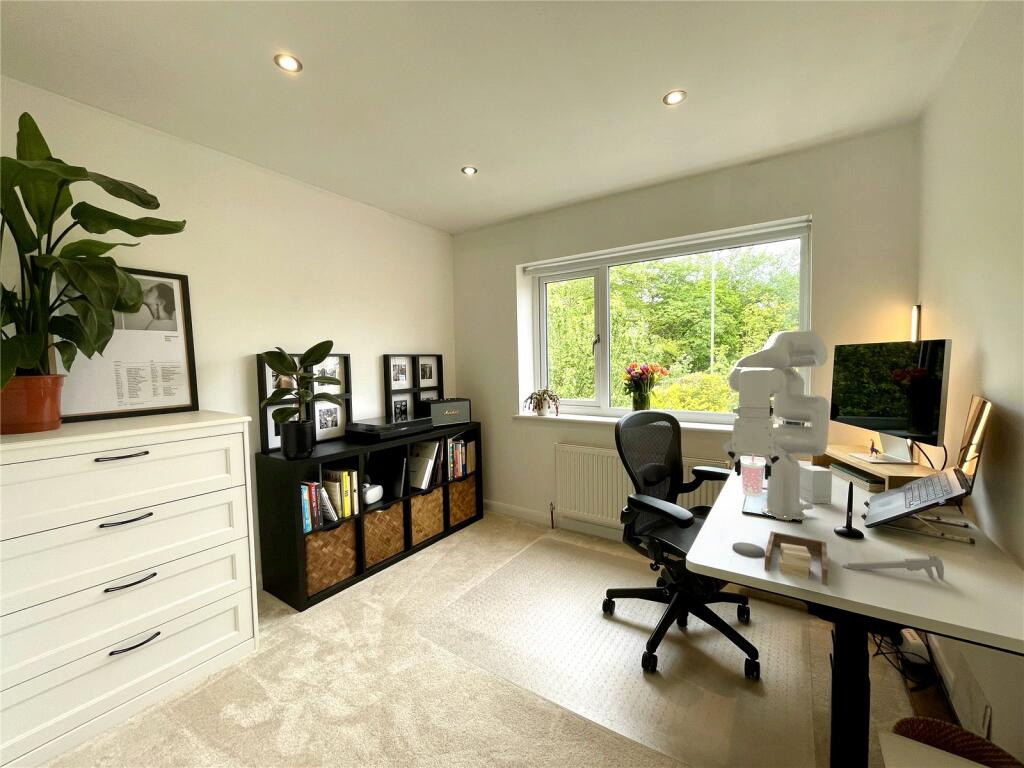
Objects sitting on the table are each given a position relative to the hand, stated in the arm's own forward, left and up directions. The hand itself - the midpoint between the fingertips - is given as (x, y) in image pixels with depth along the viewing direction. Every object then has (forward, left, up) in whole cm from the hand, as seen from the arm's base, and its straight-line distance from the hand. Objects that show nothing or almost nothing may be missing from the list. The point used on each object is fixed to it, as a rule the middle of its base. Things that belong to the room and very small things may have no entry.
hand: (752, 476), depth 117 cm
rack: (-7, +8, -22) cm, 24 cm away
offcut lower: (-4, +12, -22) cm, 25 cm away
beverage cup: (0, 0, -5) cm, 5 cm away
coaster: (+1, 0, -22) cm, 22 cm away
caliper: (-27, +15, -22) cm, 38 cm away
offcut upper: (-4, +12, -19) cm, 23 cm away
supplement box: (-50, -37, -22) cm, 66 cm away
